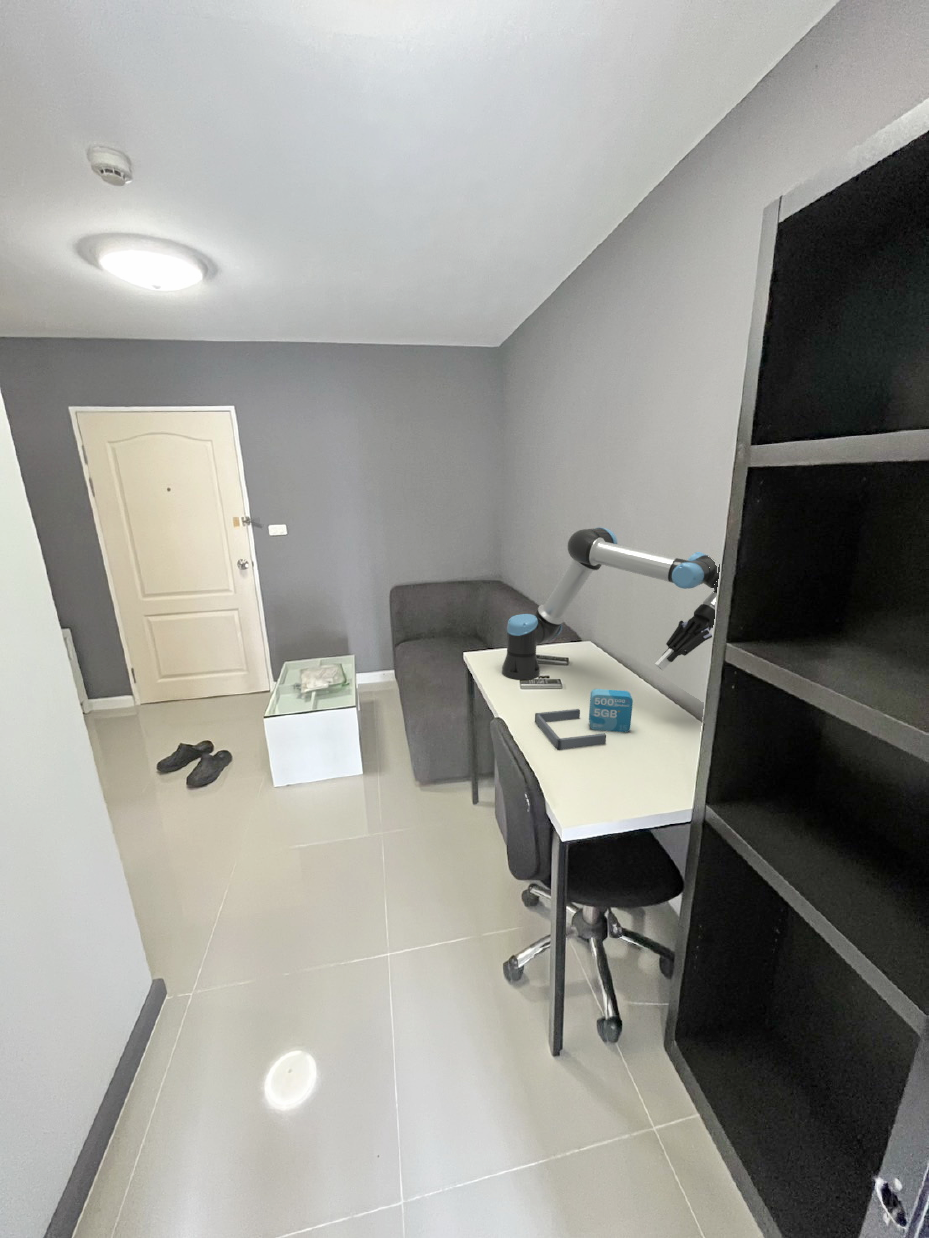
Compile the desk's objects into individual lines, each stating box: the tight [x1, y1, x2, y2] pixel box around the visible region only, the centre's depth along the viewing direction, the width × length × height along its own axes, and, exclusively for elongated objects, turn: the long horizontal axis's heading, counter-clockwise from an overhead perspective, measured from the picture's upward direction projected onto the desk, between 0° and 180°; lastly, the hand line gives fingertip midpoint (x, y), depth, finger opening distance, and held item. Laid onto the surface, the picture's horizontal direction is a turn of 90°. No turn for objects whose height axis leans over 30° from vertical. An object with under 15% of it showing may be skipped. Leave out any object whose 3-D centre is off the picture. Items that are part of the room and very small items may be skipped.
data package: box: [588, 688, 634, 733], centre depth 149 cm, size 12×4×12 cm, turn 81°
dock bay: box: [534, 708, 607, 751], centre depth 148 cm, size 18×15×3 cm
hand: (658, 667), depth 149 cm, fingers closed
